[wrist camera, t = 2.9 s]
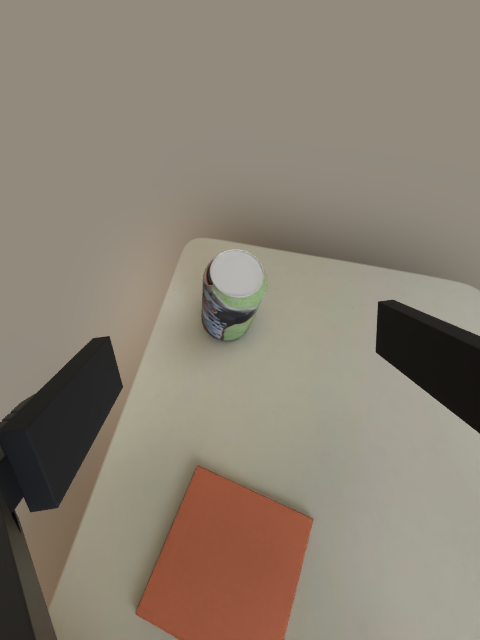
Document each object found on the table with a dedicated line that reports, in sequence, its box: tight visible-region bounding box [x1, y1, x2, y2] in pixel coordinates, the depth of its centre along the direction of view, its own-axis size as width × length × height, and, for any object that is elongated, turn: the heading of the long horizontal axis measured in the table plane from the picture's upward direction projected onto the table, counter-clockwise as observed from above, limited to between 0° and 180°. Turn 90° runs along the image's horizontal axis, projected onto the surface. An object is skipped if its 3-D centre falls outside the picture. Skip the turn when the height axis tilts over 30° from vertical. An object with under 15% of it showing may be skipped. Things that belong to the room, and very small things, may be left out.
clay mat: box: [136, 466, 313, 640], centre depth 26 cm, size 12×12×1 cm
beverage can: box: [202, 249, 267, 341], centre depth 32 cm, size 6×7×12 cm
